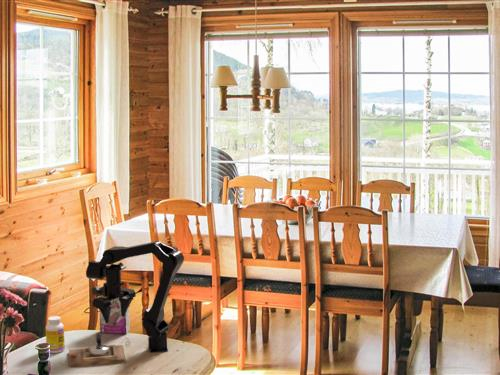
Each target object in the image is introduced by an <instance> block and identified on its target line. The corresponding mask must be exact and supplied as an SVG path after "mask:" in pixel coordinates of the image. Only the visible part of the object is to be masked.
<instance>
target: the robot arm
mask: <svg viewBox="0 0 500 375" xmlns="http://www.w3.org/2000/svg"><path fill="white" fill-rule="evenodd" d="M147 254H153V255H154V256H155V258H156V259H157V260H158V261H159V262H160V263H162V266H161V271H162V274H161V277H160V280H159V284H158V287H157V289H156V293H155V296H154V299H153V302H152V305H151V306H150V307H148V308H146V309H145V310H144V312H143V317H142V319H141V321H142V324H141V325H142V327H143V328H144V330H145V332H146V336H147V342H148V343H147V345H148V350H150V351H149V352H150V353H159V352H168V351H169V350H168V333H167V332H168V331H169V330H170V325H169V324H168V322H167V321H166V320H165V319H164V318H165V305H166V302H167V300H168V297H169V293H170V291H171V287H172V284H173V281H174V278H175V276H176V274H177V273H178V272H179V270H180V269H181V267H182V265H183V264H184V261H185V256H184V255H183V253H182V252H181V251H180V250H176V249H175V248H173V247H171V246H169V245H166V244H164V243H162V241H159V240H154V241H152V242H146V243H142V244H141V243H140V244H137V245H132V246H122V245H121V246H120V245H119V246H115V245H114V246H113V247H110V248H108V249H106V250H104V251H103V253H102V256H101V259H100V260H99V261H95V260H90V261H88V265H87V268H86V270H85V276H86V278H87V279H92V280H93V279H94V280H103V279H105V282H104V283H103V285H102V286H101V287H99V286H98V285H97V286H94V287H92V288H91V293H92V295H93V296H96V297H95V298H94V299H92V301H91V306H92V307H93V308H95V309H98V310H99V312H100V311H101V313H102V315H103V318H104V320H105V322H106V323H108V322H109V317H110V311H111V307H110V304H111V302H112V301H114V300H117V299H119V301H120V304H121V314H122V316H123V317H124V316H125V314H126V312H127V309H128V307H129V308H130V305H131V303H132V302H133V300H134V298H135V297H136V291H135V289H133V288H129V287H128V288H127V287H124V288H122V287H123V286H124V284H125V282H123V281H122V271H123V270H124V269H126V268H127V266H126V265H125V264H123V263H122V262H120V261H123V260H125V259H128V258H129V259H130V258H134V257H139V256H144V255H147ZM116 263H117V264H116ZM101 295H103V296H104V297H107V298H103V297H99V296H101Z"/></svg>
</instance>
